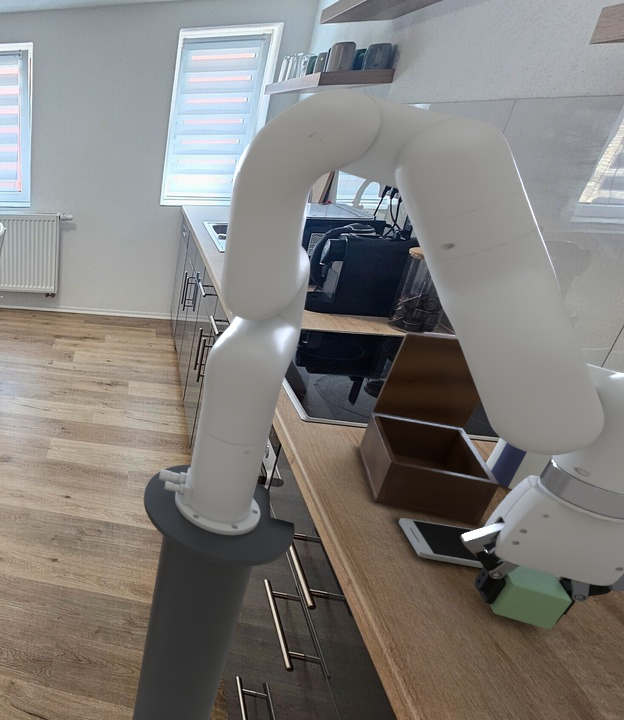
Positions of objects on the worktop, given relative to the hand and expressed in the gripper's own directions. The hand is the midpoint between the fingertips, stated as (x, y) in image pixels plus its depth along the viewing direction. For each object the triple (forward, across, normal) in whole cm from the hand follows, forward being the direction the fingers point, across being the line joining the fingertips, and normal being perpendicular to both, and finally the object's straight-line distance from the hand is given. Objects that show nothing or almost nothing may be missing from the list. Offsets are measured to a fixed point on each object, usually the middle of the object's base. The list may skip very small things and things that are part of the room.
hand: (514, 602), depth 60 cm
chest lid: (-14, +5, -31) cm, 34 cm away
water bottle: (+2, -11, -33) cm, 35 cm away
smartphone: (+2, 0, -11) cm, 11 cm away
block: (0, 0, 0) cm, 0 cm away
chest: (+2, +4, -25) cm, 25 cm away
